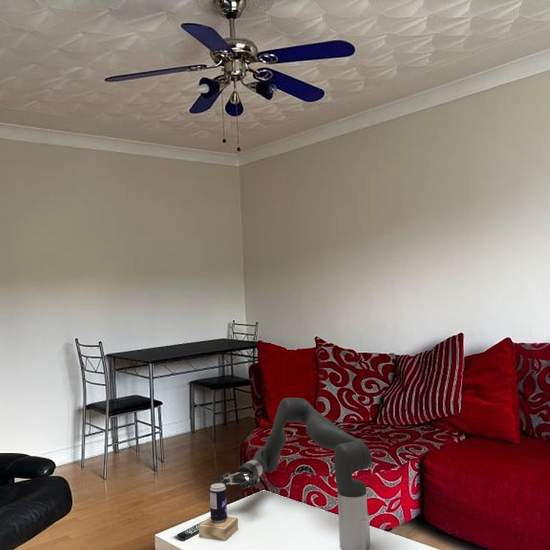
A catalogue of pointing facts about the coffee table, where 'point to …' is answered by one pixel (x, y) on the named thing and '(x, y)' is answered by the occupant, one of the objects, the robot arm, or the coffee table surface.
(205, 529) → the base block
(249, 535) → the coffee table surface
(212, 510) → the beverage can
